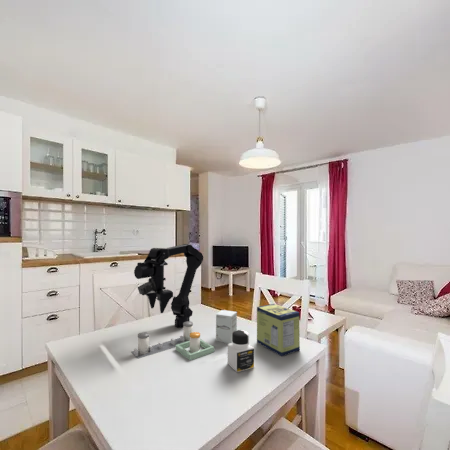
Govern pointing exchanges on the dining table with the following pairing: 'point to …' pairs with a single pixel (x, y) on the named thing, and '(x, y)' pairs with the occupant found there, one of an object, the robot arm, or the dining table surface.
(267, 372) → the dining table surface
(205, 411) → the dining table surface
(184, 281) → the robot arm
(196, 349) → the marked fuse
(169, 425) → the dining table surface
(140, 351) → the block
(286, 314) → the protein box
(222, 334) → the supplement box
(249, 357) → the medicine bottle
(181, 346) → the tray
